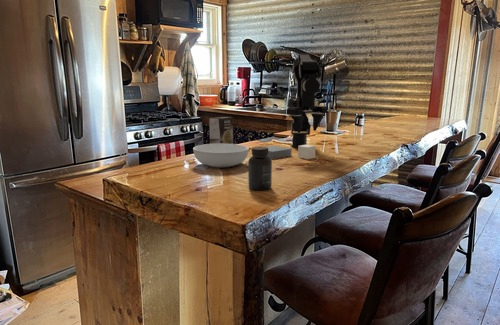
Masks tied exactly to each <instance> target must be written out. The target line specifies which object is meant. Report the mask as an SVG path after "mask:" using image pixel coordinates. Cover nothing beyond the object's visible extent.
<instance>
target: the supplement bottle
mask: <svg viewBox="0 0 500 325" xmlns="http://www.w3.org/2000/svg"><path fill="white" fill-rule="evenodd" d="M251 155H252V156H250V157H249V159H248V160H247V161H248V170H247V172H248V173H247V174H248V180H247V182H248V188H249V190H251V191H254V192H257V191H258V192H264V191H269V190H271V188H272V180H273V178H272V175H273V174H272V171H273V169H272V168H273V162H272V161H273V159H271V158H270V157H268V155H269V153H268V148H267V146H255V147H252V148H251Z"/></svg>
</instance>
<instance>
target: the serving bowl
mask: <svg viewBox="0 0 500 325" xmlns="http://www.w3.org/2000/svg"><path fill="white" fill-rule="evenodd" d="M192 150H193V155H194V158H195V159H196V160H197V161H198V162H199V163H201V164H202V165H205V166H209V167H212V168H222V169H223V168H231V167H233V166H237V165H239V164H241V163H243V162H244V161H245V160H246V159H247V158H248V155H249V150H250V148H249V147H248V146H247V145H242V144H238V143H233V144H225V143H217V144H210V143H206V144H200V145H196V146H194V147H193V148H192Z"/></svg>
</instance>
